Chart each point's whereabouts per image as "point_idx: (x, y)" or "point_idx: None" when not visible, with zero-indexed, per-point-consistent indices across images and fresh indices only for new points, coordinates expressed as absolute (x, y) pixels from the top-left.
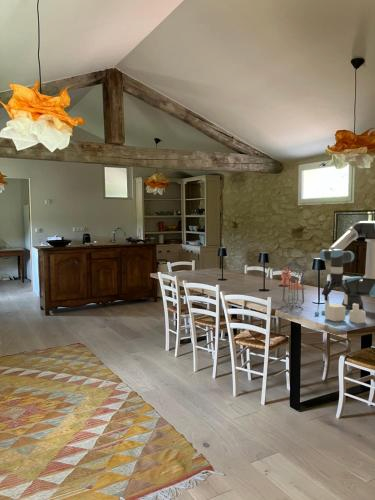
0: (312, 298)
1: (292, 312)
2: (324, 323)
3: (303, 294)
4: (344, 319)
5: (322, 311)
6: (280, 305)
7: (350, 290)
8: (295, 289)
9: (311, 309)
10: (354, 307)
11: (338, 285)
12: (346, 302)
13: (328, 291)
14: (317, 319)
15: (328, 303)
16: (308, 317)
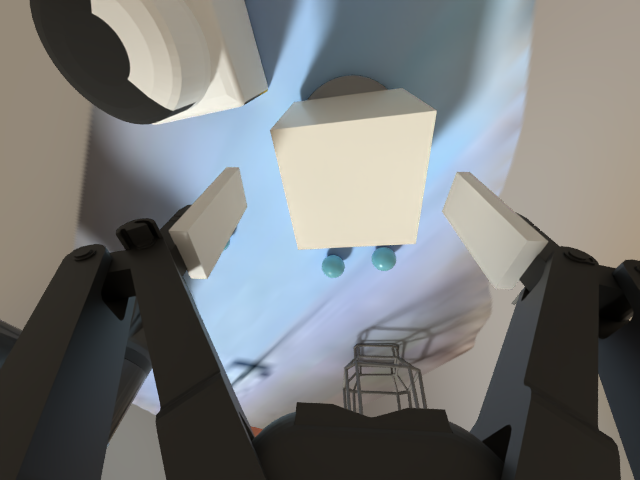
0: (245, 394)
1: (438, 315)
2: (496, 74)
3: (349, 405)
4: (300, 101)
5: (341, 270)
6: (396, 376)
7: (53, 282)
8: (254, 434)
9: (327, 326)
10: (183, 27)
11: (343, 474)
12: (231, 176)
13: (591, 318)
14: (440, 190)
15: (474, 185)
16: (449, 238)
